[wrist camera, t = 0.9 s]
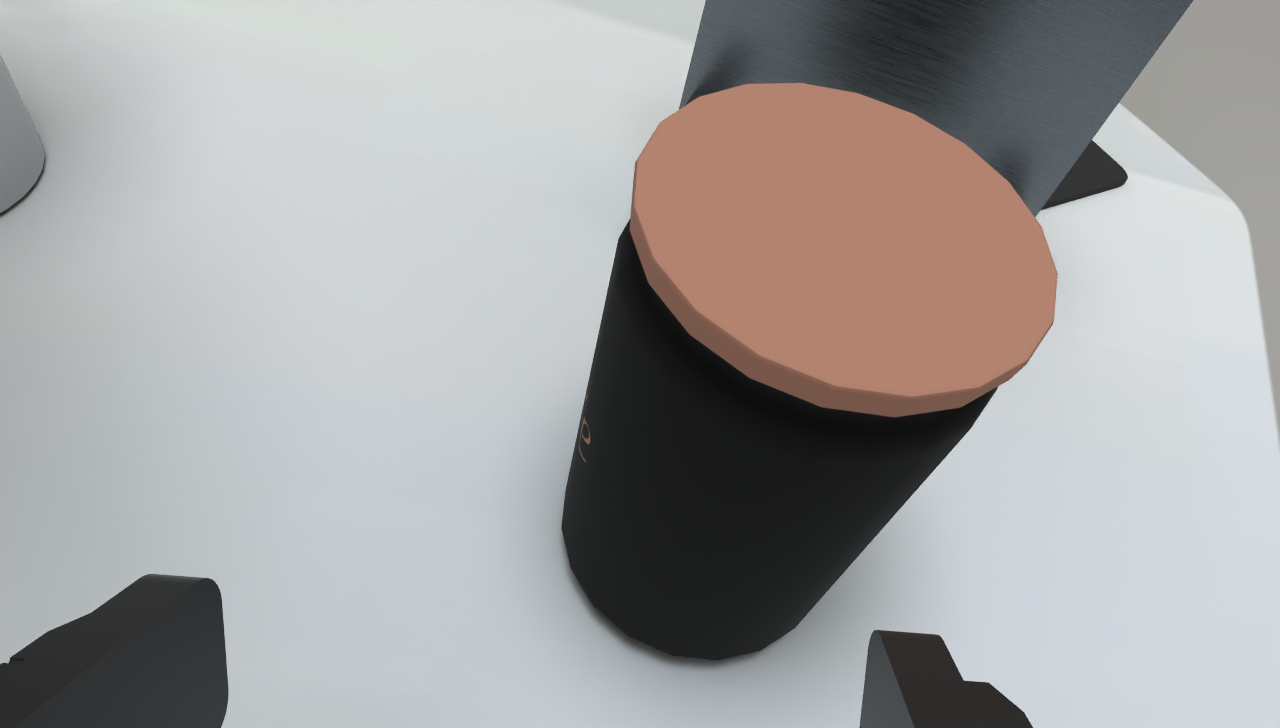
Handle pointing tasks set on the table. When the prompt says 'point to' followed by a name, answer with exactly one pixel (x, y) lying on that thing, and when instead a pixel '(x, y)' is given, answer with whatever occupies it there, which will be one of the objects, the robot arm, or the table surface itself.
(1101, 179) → the phone
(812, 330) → the coffee jar
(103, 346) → the table surface
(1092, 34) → the bracket
